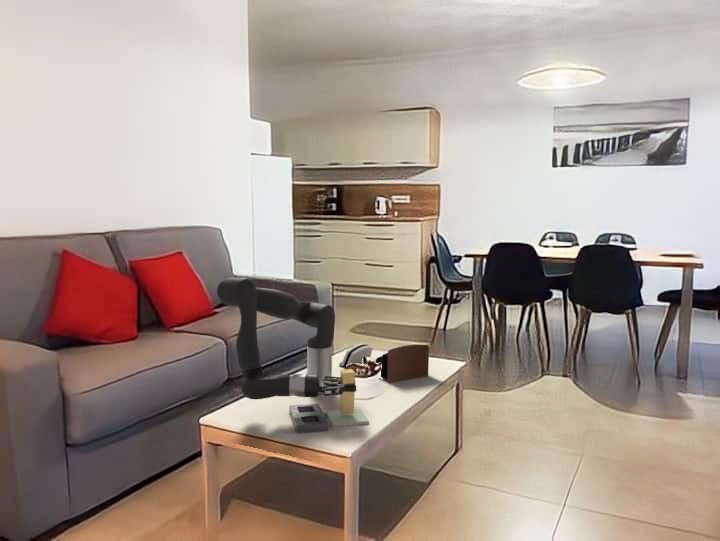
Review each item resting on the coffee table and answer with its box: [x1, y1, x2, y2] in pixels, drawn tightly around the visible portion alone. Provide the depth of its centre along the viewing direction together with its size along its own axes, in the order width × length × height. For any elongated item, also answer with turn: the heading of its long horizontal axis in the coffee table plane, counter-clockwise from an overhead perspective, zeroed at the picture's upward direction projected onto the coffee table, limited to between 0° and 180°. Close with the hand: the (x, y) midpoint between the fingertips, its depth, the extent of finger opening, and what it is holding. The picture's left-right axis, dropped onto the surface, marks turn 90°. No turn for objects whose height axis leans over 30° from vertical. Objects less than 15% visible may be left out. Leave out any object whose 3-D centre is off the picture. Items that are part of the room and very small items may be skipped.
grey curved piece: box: [338, 342, 373, 367], centre depth 270 cm, size 17×5×10 cm, turn 144°
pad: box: [325, 407, 370, 428], centre depth 206 cm, size 12×12×1 cm
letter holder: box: [375, 344, 430, 384], centre depth 253 cm, size 10×20×14 cm, turn 120°
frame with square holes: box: [288, 403, 329, 434], centre depth 203 cm, size 18×10×2 cm, turn 14°
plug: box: [339, 368, 356, 415], centre depth 205 cm, size 4×4×14 cm
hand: (355, 385), depth 205 cm, fingers closed on plug, 4 cm apart
